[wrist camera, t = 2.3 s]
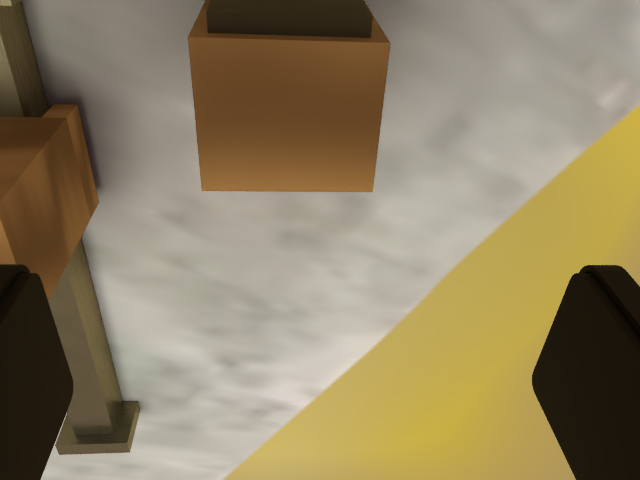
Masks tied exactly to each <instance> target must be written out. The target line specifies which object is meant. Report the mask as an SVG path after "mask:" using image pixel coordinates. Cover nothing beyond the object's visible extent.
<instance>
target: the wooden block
mask: <svg viewBox="0 0 640 480" xmlns="http://www.w3.org/2000/svg"><path fill="white" fill-rule="evenodd" d="M98 203H99V200H98V196H97V191H96V187H95V182H94V178H93V173H92V169H91V164H90V160H89V155H88V151H87V146H86V141H85V137H84V132H83V128H82V123H81V119H80V114H79V110H78V105H77V104H53V105H52V107H51V108H50V109H49V110H48V111H47V112H46V113H45V114H44V115H43V117H0V264H22V265H26V266H27V267H28V268H29V270H30V273H37V274H38V275H39V276H40V278H41V280H42V283H43V287H44V290H45V293H46V296H47V299H48V301H49V299H50V297H51V295H52V293H53V291H54V289H55V287H56V285H57V283H58V281H59V279H60V277H61V275H62V273H63V271H64V269H65V267H66V265H67V263H68V262H69V260H70V258H71V256H72V254H73V252H74V250H75V248H76V246H77V244H78V242H79V240H80V238H81V236H82V234H83V232H84V230H85V228H86V226H87V224H88V222H89V220H90V218H91V216H92V215H93V213H94V211H95V209H96V207H97V205H98Z"/></svg>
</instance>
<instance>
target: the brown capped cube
mask: <svg viewBox="0 0 640 480" xmlns="http://www.w3.org/2000/svg"><path fill="white" fill-rule="evenodd" d="M188 43H189V54H190V65H191V76H192V87H193V98H194V109H195V120H196V131H197V142H198V154H199V165H200V176H201V187H202V191H286V192H373V184H374V176H375V167H376V159H377V150H378V142H379V134H380V125H381V117H382V108H383V100H384V92H385V83H386V75H387V66H388V58H389V49H390V42H389V40H388V39H387V37H386V36H385V34H384V32H383V31H382V29H381V28H380V26H379V24H378V23H377V21H376V20H375V18H374V16H373V15H372V13H371V12H370V10H369V8H368V7H367V5H366V4H365V2H364V0H206V1H205V3H204V5H203V7H202V9H201V11H200V13H199V15H198V17H197V20H196V22H195V24H194V26H193V28H192V30H191V32H190V34H189V36H188Z"/></svg>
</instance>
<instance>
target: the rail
mask: <svg viewBox="0 0 640 480" xmlns="http://www.w3.org/2000/svg"><path fill="white" fill-rule="evenodd" d="M21 1H22V0H0V117H43V115H44V114H45V113H46V112H47V111H48V110H49V109H48V105H47V101H46V97H45V93H44V89H43V85H42V81H41V78H40V74H39V70H38V66H37V62H36V58H35V54H34V50H33V46H32V42H31V38H30V34H29V30H28V26H27V22H26V18H25V14H24V10H23V7H22V3H21ZM48 302H49V305H50V309H51V312H52V315H53V318H54V321H55V324H56V327H57V331H58V334H59V337H60V340H61V343H62V346H63V350H64V353H65V356H66V359H67V362H68V365H69V368H70V372H71V375H72V378H73V385H74V388H73V396H72V399H71V402H70V405H69V408H68V410H67V416H66V418H65V421H64V424H63V426H62V429H61V432H60V434H59V437H58V440H57V442H56V445H55V446H56V448H57V451H58V453H59V455H63V454H94V453H124V452H130V449H131V445H132V441H133V437H134V433H135V429H136V425H137V421H138V417H139V413H140V409H139V405H138V402H123V401H122V397H121V393H120V389H119V385H118V381H117V377H116V373H115V369H114V366H113V362H112V358H111V354H110V350H109V346H108V342H107V338H106V334H105V330H104V326H103V322H102V318H101V314H100V310H99V306H98V302H97V298H96V295H95V291H94V287H93V283H92V279H91V275H90V271H89V267H88V263H87V259H86V255H85V251H84V247H83V243H82V239H81V238H80V240H79V242H78V244H77V246H76V248H75V250H74V252H73V254H72V256H71V258H70V260H69V262H68V263H67V265H66V267H65V269H64V271H63V273H62V275H61V277H60V279H59V281H58V283H57V285H56V287H55V289H54V291H53V293H52V295H51V297H50V299H49V301H48Z"/></svg>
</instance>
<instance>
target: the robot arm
mask: <svg viewBox="0 0 640 480" xmlns="http://www.w3.org/2000/svg"><path fill="white" fill-rule="evenodd" d="M532 385H533V390H534V392H535V394H536V397H537V399H538V401H539V403H540V405H541V407H542V409H543V411H544V413H545V415H546V417H547V420H548V422H549V424H550V426H551V428H552V430H553V432H554V434H555V436H556V438H557V440H558V443H559V445H560V447H561V449H562V451H563V453H564V455H565V457H566V459H567V462H568V464H569V465H570V468H571V470H572V472H573V474H574V476H575V478H576V480H640V287H639V285H638V284H637V283H636V282H635V281H634V279H633V278H632V277H631V276H630V275H629V274H628V272H627V271H626V270H625V269H623V268H622V267H621V266H617V265H588V266H585V267H583V268H582V269H581V270H580V272H579V273H576V274H574V275H573V276H572V277H571V279H570V281H569V284H568V286H567V289H566V291H565V294H564V296H563V299H562V301H561V304H560V306H559V309H558V311H557V314H556V316H555V319H554V321H553V324H552V326H551V329H550V332H549V334H548V336H547V339H546V342H545V344H544V346H543V349H542V351H541V354H540V356H539V359H538V361H537V364H536V366H535V369H534V372H533V375H532ZM73 388H74V385H73V378H72V375H71V372H70V368H69V365H68V362H67V359H66V356H65V353H64V350H63V346H62V343H61V340H60V337H59V334H58V331H57V327H56V324H55V321H54V318H53V315H52V312H51V309H50V305H49V302H48V299H47V296H46V293H45V290H44V287H43V283H42V280H41V278H40V276H39V275H38V274H37V273H30V270H29V268H28V267H27V266H26V265H22V264H0V480H40V479H41V477H42V474H43V471H44V469H45V466H46V464H47V461H48V459H49V456H50V454H51V451H52V448H53V446H54V443H55V441H56V438H57V436H58V433H59V431H60V428H61V425H62V423H63V420H64V418H65V415H66V413H67V410H68V408H69V405H70V402H71V399H72V396H73Z"/></svg>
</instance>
